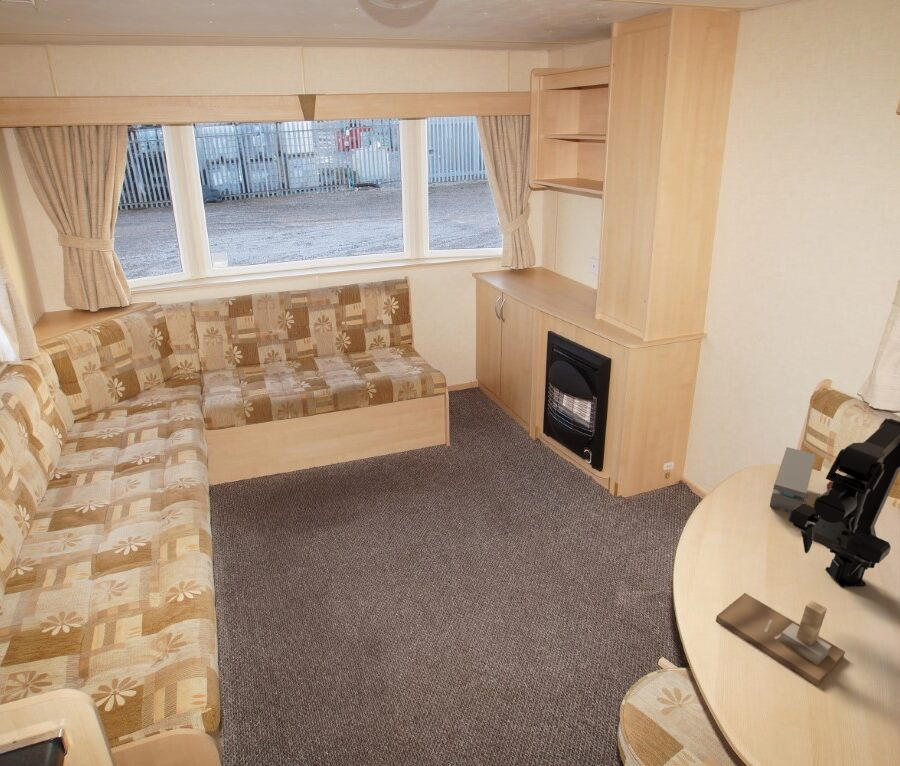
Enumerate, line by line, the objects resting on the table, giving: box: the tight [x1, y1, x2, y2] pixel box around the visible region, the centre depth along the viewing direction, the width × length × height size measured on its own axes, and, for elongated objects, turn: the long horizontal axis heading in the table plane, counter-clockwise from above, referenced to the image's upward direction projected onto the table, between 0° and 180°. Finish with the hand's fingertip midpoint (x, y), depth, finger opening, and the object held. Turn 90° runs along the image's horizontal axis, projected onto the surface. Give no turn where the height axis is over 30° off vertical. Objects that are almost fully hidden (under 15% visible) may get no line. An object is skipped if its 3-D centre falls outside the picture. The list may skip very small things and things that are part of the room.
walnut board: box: [715, 592, 846, 687], centre depth 139 cm, size 22×12×2 cm, turn 39°
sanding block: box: [780, 600, 831, 665], centre depth 133 cm, size 8×4×11 cm, turn 38°
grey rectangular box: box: [769, 446, 817, 513], centre depth 186 cm, size 25×8×11 cm, turn 147°
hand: (827, 563), depth 142 cm, fingers open, 9 cm apart
